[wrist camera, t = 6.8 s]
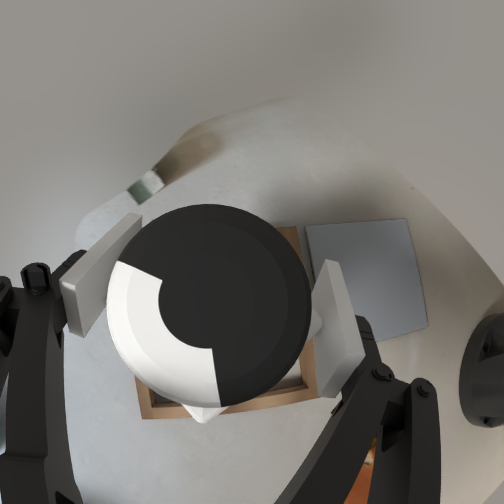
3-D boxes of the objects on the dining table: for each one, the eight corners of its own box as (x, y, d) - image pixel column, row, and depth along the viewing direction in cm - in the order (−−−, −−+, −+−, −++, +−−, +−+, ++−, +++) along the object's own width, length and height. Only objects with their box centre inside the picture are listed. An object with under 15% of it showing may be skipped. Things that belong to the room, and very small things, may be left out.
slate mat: (403, 220, 31) (405, 218, 30) (425, 327, 28) (428, 326, 27) (304, 227, 29) (305, 225, 28) (325, 353, 26) (327, 353, 25)
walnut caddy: (290, 233, 29) (295, 226, 27) (314, 393, 25) (321, 397, 23) (130, 249, 26) (124, 242, 24) (147, 413, 23) (142, 419, 21)
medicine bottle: (224, 246, 21) (229, 137, 9) (292, 328, 20) (385, 315, 8) (140, 311, 19) (42, 274, 7) (208, 396, 18) (190, 478, 6)
